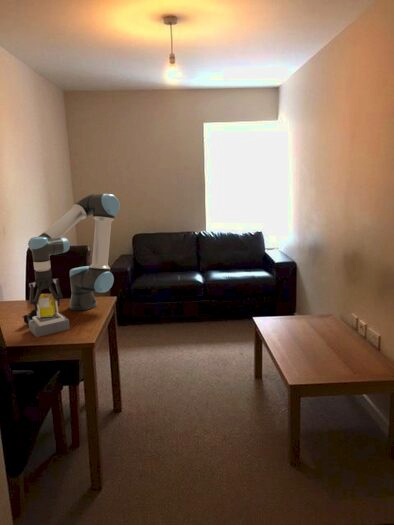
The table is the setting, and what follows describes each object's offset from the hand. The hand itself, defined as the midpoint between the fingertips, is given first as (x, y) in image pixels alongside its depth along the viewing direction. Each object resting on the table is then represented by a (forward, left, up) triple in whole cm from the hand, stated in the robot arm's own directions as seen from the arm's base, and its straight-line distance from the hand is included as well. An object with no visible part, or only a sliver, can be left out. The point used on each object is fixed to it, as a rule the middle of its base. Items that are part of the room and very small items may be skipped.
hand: (48, 314), depth 207 cm
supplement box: (0, 0, -1) cm, 1 cm away
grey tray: (0, 0, -8) cm, 8 cm away
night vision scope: (+1, -17, -8) cm, 19 cm away
